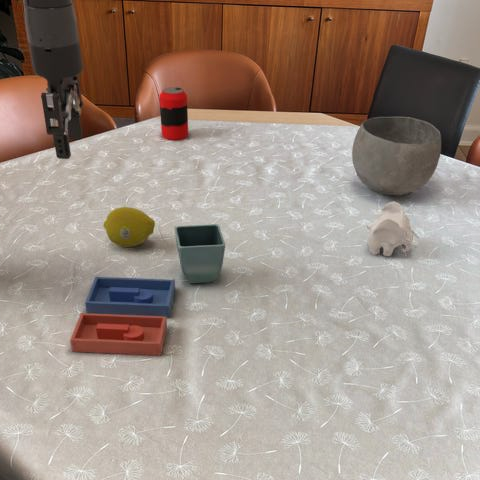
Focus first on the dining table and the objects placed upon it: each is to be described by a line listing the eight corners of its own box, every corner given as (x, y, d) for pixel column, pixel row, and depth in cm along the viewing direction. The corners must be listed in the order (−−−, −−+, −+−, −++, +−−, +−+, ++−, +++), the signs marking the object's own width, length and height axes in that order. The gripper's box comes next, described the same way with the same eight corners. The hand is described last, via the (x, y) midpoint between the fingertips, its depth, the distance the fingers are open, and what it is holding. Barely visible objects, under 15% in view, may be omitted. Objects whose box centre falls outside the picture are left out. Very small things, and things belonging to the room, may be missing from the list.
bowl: (376, 214, 151) (387, 148, 141) (332, 180, 165) (339, 118, 154) (448, 200, 158) (463, 136, 147) (399, 168, 171) (411, 108, 161)
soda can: (193, 136, 186) (192, 90, 177) (174, 142, 182) (171, 96, 173) (175, 129, 189) (173, 84, 181) (156, 135, 185) (153, 90, 177)
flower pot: (219, 264, 133) (218, 223, 127) (225, 287, 127) (225, 244, 121) (176, 267, 132) (173, 225, 126) (180, 290, 126) (178, 247, 119)
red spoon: (96, 342, 112) (94, 331, 111) (100, 330, 115) (98, 319, 113) (142, 344, 112) (141, 333, 110) (145, 332, 115) (144, 321, 113)
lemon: (99, 249, 137) (94, 213, 131) (114, 233, 142) (110, 197, 137) (147, 257, 135) (144, 221, 129) (160, 240, 140) (158, 204, 135)
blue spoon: (109, 304, 121) (107, 294, 119) (112, 294, 123) (111, 283, 122) (151, 306, 121) (151, 295, 119) (154, 295, 123) (153, 285, 122)
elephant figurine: (414, 265, 134) (423, 225, 128) (356, 256, 137) (362, 216, 131) (418, 244, 141) (427, 205, 135) (363, 236, 143) (370, 196, 137)
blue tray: (86, 313, 119) (84, 302, 117) (97, 287, 126) (95, 276, 124) (169, 317, 119) (168, 306, 117) (175, 290, 125) (174, 279, 124)
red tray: (72, 351, 111) (70, 340, 109) (82, 324, 117) (80, 312, 115) (161, 355, 110) (160, 343, 109) (167, 327, 116) (166, 316, 115)
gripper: (41, 26, 103) (58, 132, 114) (14, 49, 93) (36, 163, 104) (88, 28, 103) (101, 134, 114) (67, 52, 93) (83, 165, 104)
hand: (70, 148), depth 109 cm, fingers open, 8 cm apart
